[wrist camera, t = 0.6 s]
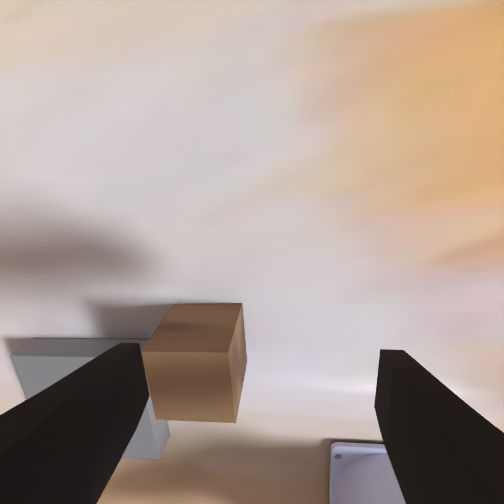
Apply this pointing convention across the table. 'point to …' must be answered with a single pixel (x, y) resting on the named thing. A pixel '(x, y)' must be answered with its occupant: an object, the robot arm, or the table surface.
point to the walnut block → (197, 363)
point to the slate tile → (71, 358)
